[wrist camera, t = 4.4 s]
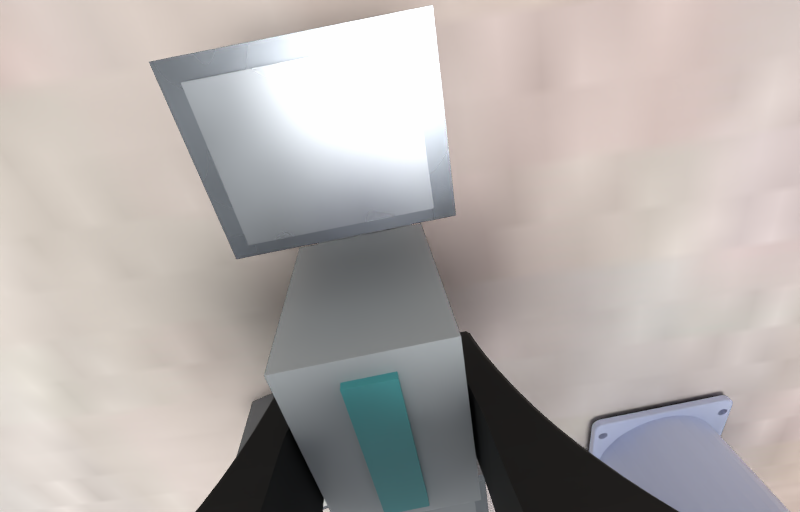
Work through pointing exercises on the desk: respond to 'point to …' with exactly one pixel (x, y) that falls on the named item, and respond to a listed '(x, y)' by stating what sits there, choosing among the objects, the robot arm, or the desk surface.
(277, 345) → the grey module
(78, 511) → the desk surface
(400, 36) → the rail
